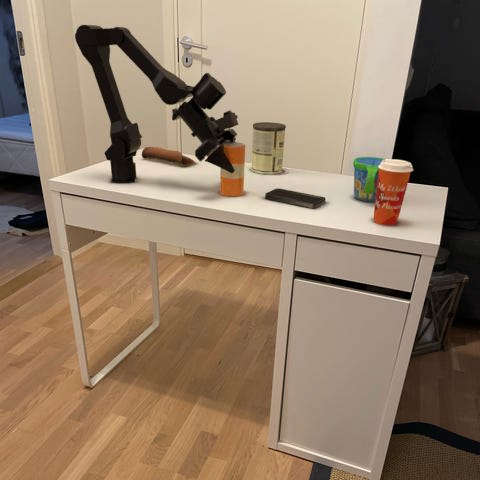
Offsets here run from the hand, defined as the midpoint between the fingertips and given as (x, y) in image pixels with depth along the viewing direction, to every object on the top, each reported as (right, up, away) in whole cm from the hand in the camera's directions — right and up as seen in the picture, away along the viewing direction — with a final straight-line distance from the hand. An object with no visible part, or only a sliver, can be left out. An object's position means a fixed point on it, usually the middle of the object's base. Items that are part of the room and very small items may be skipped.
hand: (237, 169), depth 131 cm
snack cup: (+36, -7, +4) cm, 37 cm away
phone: (+15, -9, 0) cm, 18 cm away
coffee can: (+9, +8, +28) cm, 30 cm away
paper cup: (+36, -17, -13) cm, 42 cm away
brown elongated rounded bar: (-23, +13, +34) cm, 43 cm away
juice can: (-2, -5, +4) cm, 7 cm away
